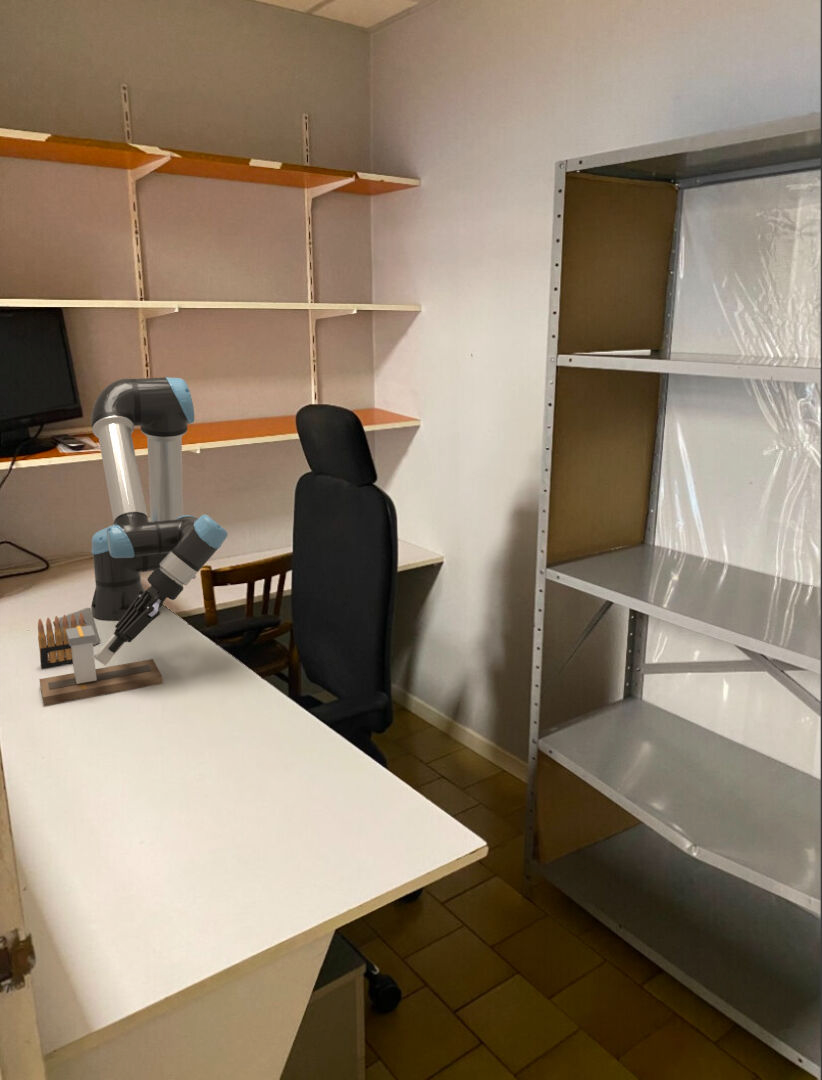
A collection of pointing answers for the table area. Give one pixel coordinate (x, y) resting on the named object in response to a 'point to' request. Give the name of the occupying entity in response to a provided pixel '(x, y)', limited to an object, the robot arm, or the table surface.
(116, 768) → the table surface
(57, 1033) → the table surface
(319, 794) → the table surface
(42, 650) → the ammunition clip
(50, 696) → the fader console
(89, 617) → the electrical switch
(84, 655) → the fader tab
